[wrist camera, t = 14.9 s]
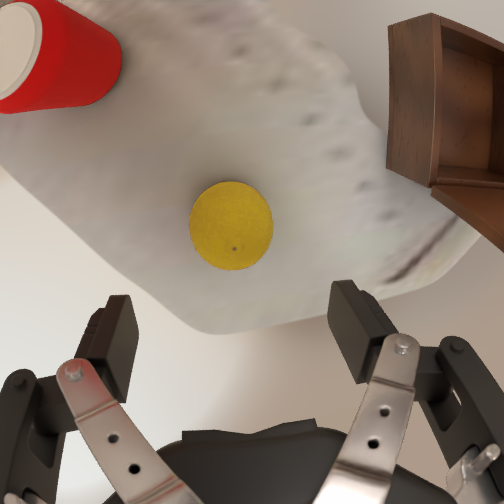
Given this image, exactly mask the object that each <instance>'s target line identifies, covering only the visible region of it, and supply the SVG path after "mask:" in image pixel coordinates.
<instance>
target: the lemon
mask: <svg viewBox="0 0 504 504" xmlns="http://www.w3.org/2000/svg"><path fill="white" fill-rule="evenodd" d="M189 229H190V235H191V240H192V242H193V244H194V246H195V249H196V250H197V252H198V253H199V254H200V255H201V257H202V258H203V259H204V260H205V261H207V262H208V263H209V264H211V265H212V266H215V267H217V268H219V269H224V270H240V269H243V268H247V267H249V266H251V265H253V264H254V263H256V262H257V261H258V260H259V259H260V258H261V257H262V256H263V255H264V253H265V252H266V250H267V249H268V247H269V244H270V242H271V239H272V233H273V220H272V214H271V210H270V208H269V206H268V204H267V202H266V200H265V199H264V198H263V197H262V196H261V195H260V193H259V192H258V191H256V190H255V189H253V188H252V187H250V186H249V185H246V184H243V183H240V182H232V181H228V182H222V183H218V184H216V185H213V186H211V187H209V188H208V189H207V190H205V191H204V192H203V193H202V194H201V195H200V196H199V198H198V199H197V200H196V202H195V203H194V206H193V208H192V211H191V213H190V221H189Z"/></svg>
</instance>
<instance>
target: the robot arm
mask: <svg viewBox="0 0 504 504" xmlns="http://www.w3.org/2000/svg"><path fill="white" fill-rule="evenodd" d="M327 317H328V324H329V327H330V329H331V331H332V333H333V335H334V338H335V340H336V342H337V344H338V346H339V348H340V350H341V352H342V355H343V357H344V359H345V361H346V363H347V365H348V367H349V370H350V372H351V374H352V376H353V378H354V380H355V382H356V384H360V383H365V382H367V384H368V387H367V390H366V392H365V395H364V397H363V400H362V402H361V405H360V407H359V410H358V412H357V414H356V417H355V419H354V421H353V424H352V426H351V428H350V431H349V433H348V434H345V433H344V432H341V431H338V430H335V429H330V428H324V427H317V424H316V421H315V418H313V419H307V420H301V421H295V422H288V423H282V424H279V425H277V426H274V427H271V428H268V429H265V430H262V431H259V432H256V433H253V434H243V433H235V432H227V431H220V430H197V431H182V440H180V441H176V442H173V443H170V444H168V445H166V446H164V447H162V448H160V449H159V450H157V451H155V450H154V449H153V448H152V446H151V445H150V444H149V443H148V441H147V440H146V439H145V438H144V436H143V435H142V434H141V432H140V431H139V430H138V429H137V427H136V426H135V425H134V423H133V422H132V420H131V419H130V418H129V416H128V415H127V414H126V412H125V411H124V410H123V408H122V407H121V405H120V404H119V403H126V398H127V394H128V388H129V383H130V378H131V373H132V368H133V363H134V358H135V354H136V349H137V345H138V339H139V331H138V325H137V321H136V317H135V313H134V310H133V305H132V301H131V298H130V296H129V295H111V296H110V297H109V299H108V302H107V304H106V307H105V308H99V309H98V310H97V311H96V312H95V313H94V314H93V315H92V316H91V318H90V320H89V322H88V325H87V327H86V329H85V332H84V334H83V336H82V339H81V341H80V344H79V346H78V349H77V351H76V354H75V356H74V359H71V360H68V361H66V362H65V363H63V364H62V365H61V366H60V367H59V368H58V370H57V373H56V375H53V376H48V377H44V378H38V379H37V378H36V376H35V374H34V373H33V372H32V371H31V370H28V369H19V370H16V371H14V372H13V373H11V374H10V375H9V376H8V377H7V379H6V380H5V382H4V385H3V388H2V390H1V392H0V504H55V501H56V492H57V485H58V478H59V470H60V465H61V458H62V452H63V447H64V441H65V436H66V432H70V431H75V430H79V431H80V433H81V435H82V437H83V438H84V440H85V442H86V444H87V445H88V447H89V449H90V451H91V453H92V454H93V456H94V458H95V459H96V461H97V462H98V464H99V466H100V467H101V469H102V471H103V472H104V474H105V475H106V477H107V478H108V480H109V481H110V483H111V484H112V486H113V487H114V489H115V490H116V491H115V492H114V493H113V494H112V495H111V496H110V497H109V498H108V499H107V500H106V501H105V502H104V503H103V504H504V393H503V391H502V389H501V388H500V387H499V385H498V383H497V382H496V380H495V379H494V378H493V376H492V375H491V373H490V372H489V370H488V369H487V368H486V366H485V365H484V363H483V362H482V360H481V359H480V358H479V356H478V355H477V354H476V352H475V351H474V349H473V348H472V347H471V345H470V344H469V343H468V342H467V341H465V340H464V339H462V338H460V337H456V336H447V337H445V338H443V339H442V341H441V342H440V345H439V347H424V346H420V345H419V343H418V342H417V341H416V340H415V339H414V338H413V337H411V336H409V335H406V334H402V333H399V332H398V331H397V329H396V328H395V326H394V325H393V324H392V322H391V320H390V319H389V318H388V316H387V315H386V313H384V311H383V309H382V308H381V307H380V306H379V304H378V302H377V301H376V299H375V298H374V297H373V296H372V295H370V294H369V293H367V292H366V291H364V290H361V291H359V289H358V288H357V286H356V285H355V283H354V282H353V281H352V280H340V281H333V282H332V285H331V292H330V299H329V306H328V314H327ZM453 390H455V392H456V393H457V395H458V397H459V399H460V401H461V405H460V403H459V402H458V400H457V398H456V397H455V395H454V393H453ZM413 401H418V402H419V404H420V406H421V408H422V410H423V412H424V414H425V416H426V418H427V420H428V422H429V424H430V427H431V429H432V431H433V433H434V435H435V437H436V440H437V442H438V444H439V446H440V448H441V451H442V453H443V455H444V457H445V460H446V462H447V464H448V467H449V469H450V470H449V471H448V473H447V476H446V484H447V487H446V491H445V490H444V489H442V488H440V487H438V486H436V485H434V484H432V483H430V482H428V481H427V480H424V479H423V478H421V477H419V476H417V475H416V474H414V473H412V472H410V471H408V470H407V469H405V468H403V467H401V466H400V465H398V464H396V461H397V459H398V456H399V452H400V449H401V446H402V443H403V439H404V436H405V432H406V429H407V425H408V421H409V417H410V413H411V409H412V405H413Z"/></svg>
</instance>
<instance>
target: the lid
mask: <svg viewBox="0 0 504 504" xmlns="http://www.w3.org/2000/svg"><path fill="white" fill-rule="evenodd" d="M431 196H432V197H433V198H435V199H436V200H437V201H439V202H440V203H442V204H443V205H444V206H446V207H447V208H448V209H450V210H451V211H452V212H454V213H455V214H456V215H458V216H459V217H460V218H462V219H463V220H464V221H466V222H467V223H468V224H469V225H471V226H472V227H473V228H474V229H476V230H477V231H478V232H479V233H481V234H482V235H483V236H484V237H486V238H487V239H488V240H489V241H490V242H492V243H493V244H494V245H495V246H497V248H499V249H500V250H501V251H502V252H503V253H504V189H493V188H479V187H463V186H444V185H432V190H431Z"/></svg>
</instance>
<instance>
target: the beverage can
mask: <svg viewBox="0 0 504 504" xmlns="http://www.w3.org/2000/svg"><path fill="white" fill-rule="evenodd" d="M121 65H122V52H121V48H120V45H119V43H118V41H117V39H116V38H115V37H114V36H113V35H112V34H111V33H110V32H108V31H107V30H105V29H104V28H102V27H101V26H99V25H97V24H96V23H94V22H92V21H91V20H89V19H87V18H86V17H84V16H82V15H81V14H79V13H77V12H76V11H74V10H72V9H71V8H69V7H67V6H65V5H64V4H62V3H60V2H58V1H56V0H14V1H12V2H10V3H8V4H6V5H4V6H2V7H0V113H3V114H13V113H20V112H27V111H35V110H43V109H53V108H64V107H77V106H85V105H89V104H91V103H94V102H95V101H97V100H99V99H100V98H102V97H103V96H104V95H105V94H106V93H107V92H108V91H109V90H110V89H111V88H112V86H113V85H114V83H115V82H116V80H117V78H118V76H119V73H120V70H121Z"/></svg>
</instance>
